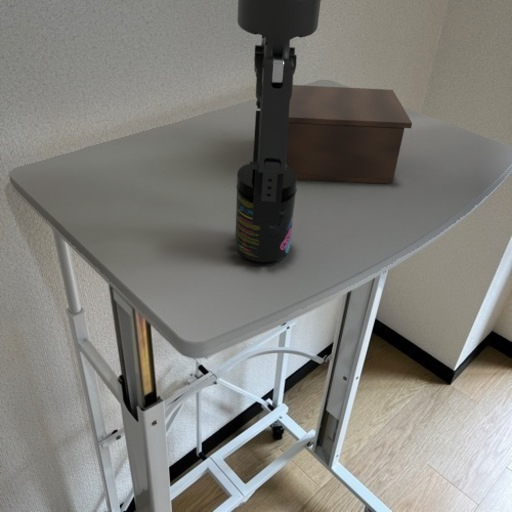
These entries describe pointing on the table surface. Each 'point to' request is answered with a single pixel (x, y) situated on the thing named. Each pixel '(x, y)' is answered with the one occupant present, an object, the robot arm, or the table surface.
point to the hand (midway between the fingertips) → (264, 191)
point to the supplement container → (263, 236)
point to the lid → (347, 107)
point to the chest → (343, 152)
